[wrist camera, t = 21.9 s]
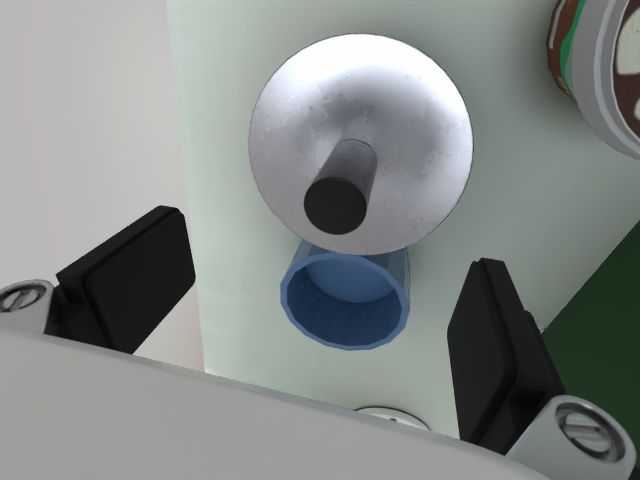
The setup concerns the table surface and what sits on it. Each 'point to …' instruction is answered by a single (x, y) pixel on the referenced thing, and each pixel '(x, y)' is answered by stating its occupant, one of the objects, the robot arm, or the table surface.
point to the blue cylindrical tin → (347, 296)
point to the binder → (604, 339)
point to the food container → (600, 66)
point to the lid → (361, 144)
